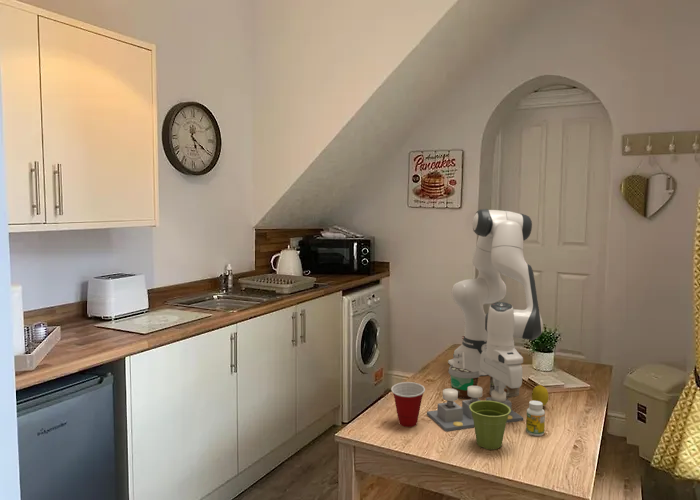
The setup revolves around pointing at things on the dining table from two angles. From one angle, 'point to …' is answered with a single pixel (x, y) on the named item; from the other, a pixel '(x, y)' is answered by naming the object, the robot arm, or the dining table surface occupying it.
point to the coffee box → (505, 389)
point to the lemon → (540, 394)
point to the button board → (463, 415)
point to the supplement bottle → (535, 419)
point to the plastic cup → (408, 402)
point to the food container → (462, 380)
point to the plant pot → (489, 422)
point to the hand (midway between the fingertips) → (499, 392)
